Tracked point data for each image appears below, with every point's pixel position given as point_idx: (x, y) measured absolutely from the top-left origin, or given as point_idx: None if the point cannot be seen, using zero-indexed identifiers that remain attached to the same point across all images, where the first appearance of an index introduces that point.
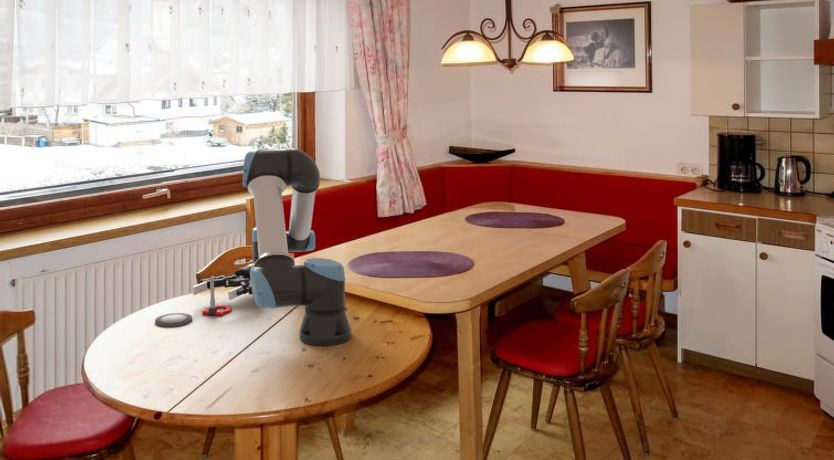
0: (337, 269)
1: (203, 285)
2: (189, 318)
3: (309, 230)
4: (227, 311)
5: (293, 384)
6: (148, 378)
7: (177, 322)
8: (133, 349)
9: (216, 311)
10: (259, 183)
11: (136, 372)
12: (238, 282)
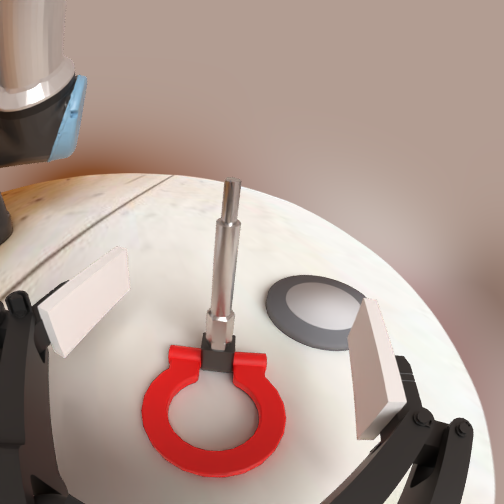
0: None
1: (372, 375)
2: (277, 307)
3: None
4: (154, 381)
5: (69, 186)
6: (215, 191)
7: (291, 285)
8: (287, 224)
9: (198, 351)
10: None
11: None
12: (59, 496)
